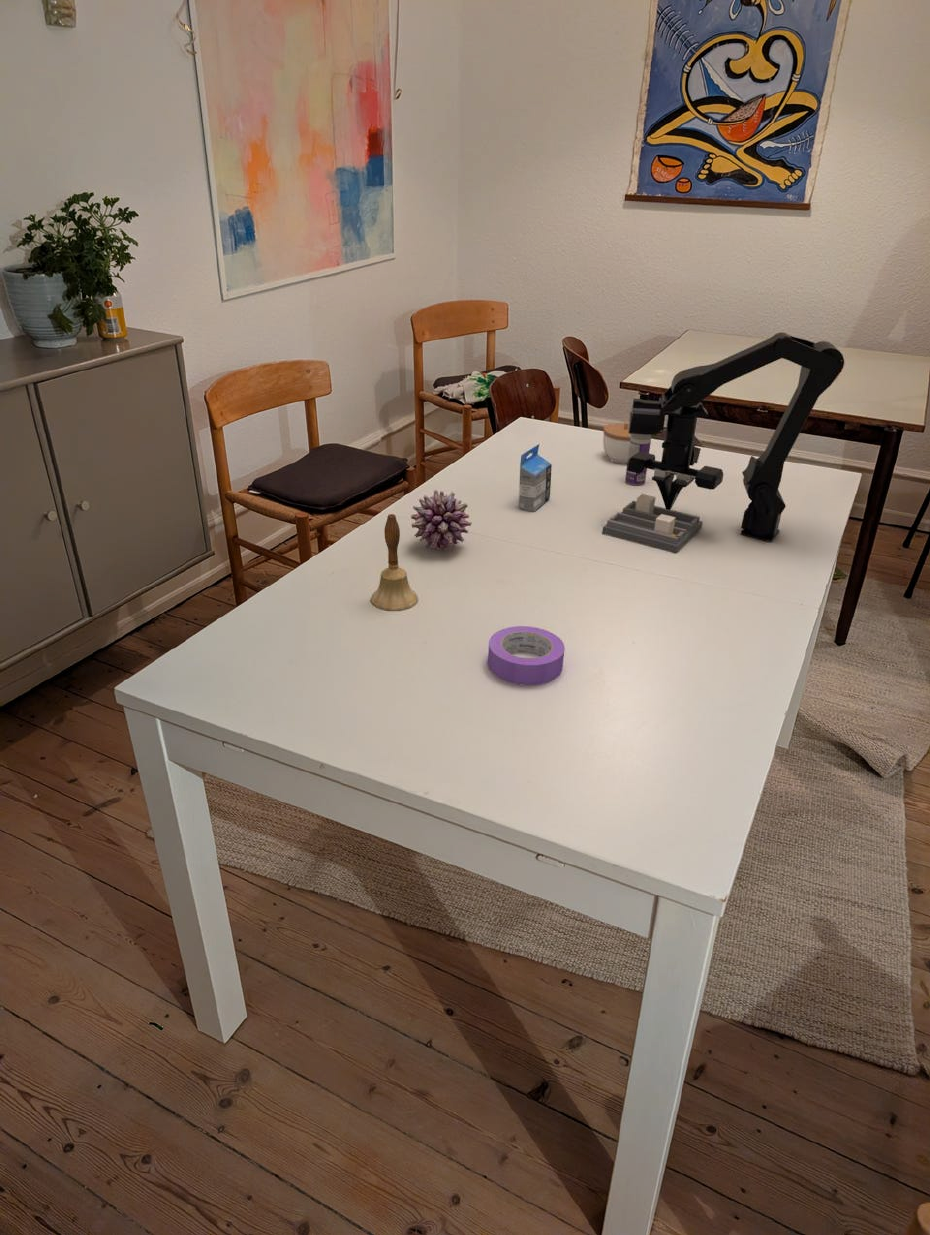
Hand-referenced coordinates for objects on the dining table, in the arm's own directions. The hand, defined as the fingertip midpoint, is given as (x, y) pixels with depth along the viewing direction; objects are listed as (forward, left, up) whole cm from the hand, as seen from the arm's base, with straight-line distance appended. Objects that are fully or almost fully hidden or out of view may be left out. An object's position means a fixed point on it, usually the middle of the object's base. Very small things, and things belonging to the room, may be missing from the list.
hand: (668, 509), depth 182 cm
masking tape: (-2, +64, -4) cm, 64 cm away
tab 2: (-2, +8, -2) cm, 9 cm away
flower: (+32, +37, -4) cm, 49 cm away
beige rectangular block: (+5, 0, -2) cm, 6 cm away
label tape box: (+28, +6, -4) cm, 29 cm away
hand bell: (+27, +59, -4) cm, 65 cm away
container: (+15, -20, -4) cm, 26 cm away
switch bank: (+1, +4, -4) cm, 6 cm away
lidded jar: (+24, -33, -4) cm, 41 cm away
